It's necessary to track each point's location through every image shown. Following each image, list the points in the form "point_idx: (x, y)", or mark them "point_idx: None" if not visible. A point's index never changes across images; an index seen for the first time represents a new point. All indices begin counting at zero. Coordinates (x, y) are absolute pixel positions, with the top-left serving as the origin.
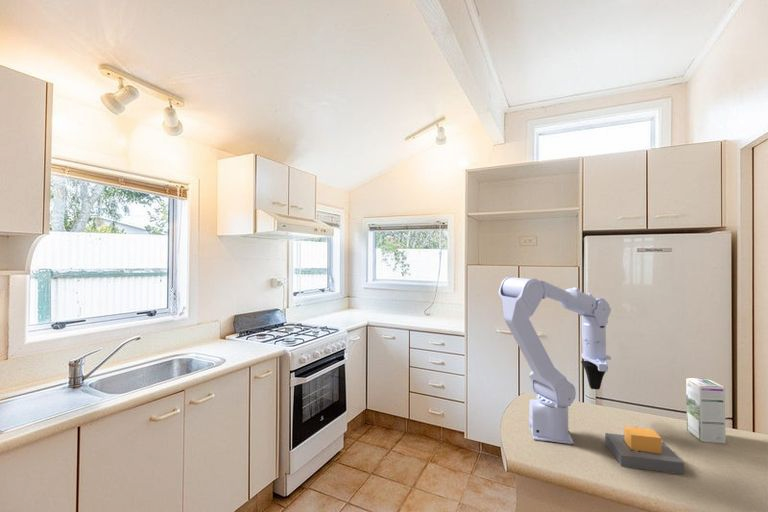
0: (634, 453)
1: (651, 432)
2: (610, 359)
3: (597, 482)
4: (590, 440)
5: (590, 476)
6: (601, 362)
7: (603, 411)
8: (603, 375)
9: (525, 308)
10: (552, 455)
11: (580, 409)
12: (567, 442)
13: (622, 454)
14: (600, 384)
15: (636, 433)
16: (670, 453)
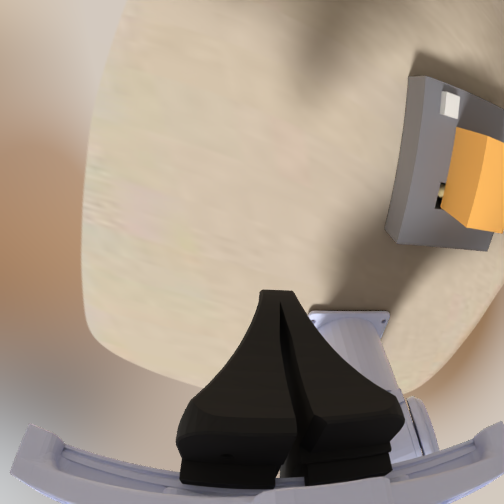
0: None
1: (500, 157)
2: (389, 481)
3: (491, 298)
4: (370, 264)
5: (479, 304)
6: (475, 489)
7: (131, 141)
8: (343, 359)
9: None
10: (416, 349)
11: (138, 222)
12: (385, 323)
13: (485, 246)
14: (304, 311)
15: (500, 212)
16: (492, 115)
